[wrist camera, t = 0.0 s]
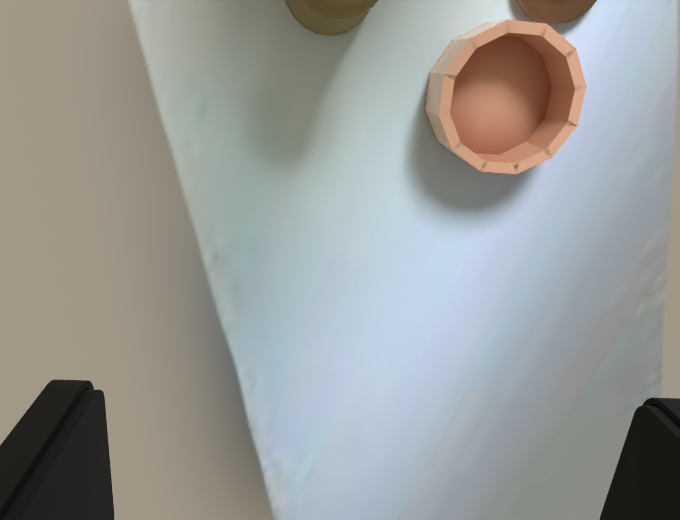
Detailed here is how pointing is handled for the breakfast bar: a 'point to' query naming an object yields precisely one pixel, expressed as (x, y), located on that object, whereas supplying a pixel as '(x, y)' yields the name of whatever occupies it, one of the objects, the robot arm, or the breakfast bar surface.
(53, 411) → the robot arm
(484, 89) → the pink faceted round bowl
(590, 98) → the breakfast bar surface
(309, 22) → the cork
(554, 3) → the lid
